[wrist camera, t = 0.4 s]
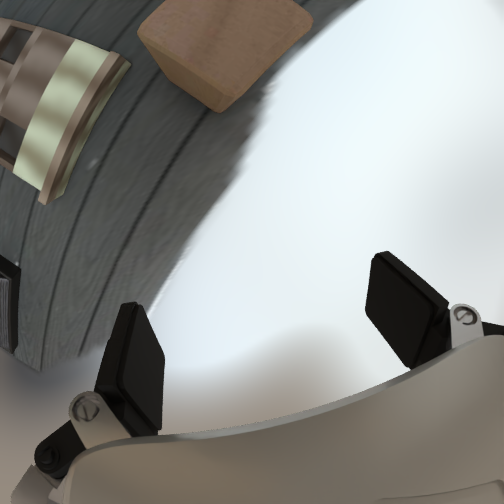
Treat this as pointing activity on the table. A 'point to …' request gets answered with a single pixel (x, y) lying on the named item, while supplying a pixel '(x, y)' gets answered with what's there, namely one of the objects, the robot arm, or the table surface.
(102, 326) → the table surface
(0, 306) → the food platter
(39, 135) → the board
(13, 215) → the table surface
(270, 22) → the block
